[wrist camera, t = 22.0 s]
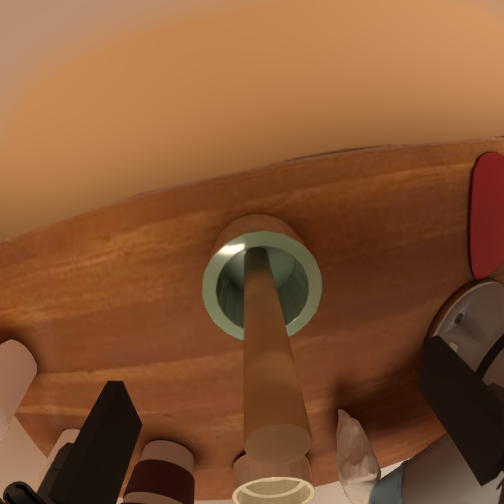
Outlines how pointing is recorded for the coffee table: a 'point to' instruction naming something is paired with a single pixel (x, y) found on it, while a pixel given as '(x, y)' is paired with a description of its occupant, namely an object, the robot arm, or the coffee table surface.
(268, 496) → the bowl
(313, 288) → the holder
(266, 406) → the stirring stick
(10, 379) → the foam cup
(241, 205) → the coffee table surface
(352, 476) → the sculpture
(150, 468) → the coffee cup
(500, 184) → the red triangular disc
